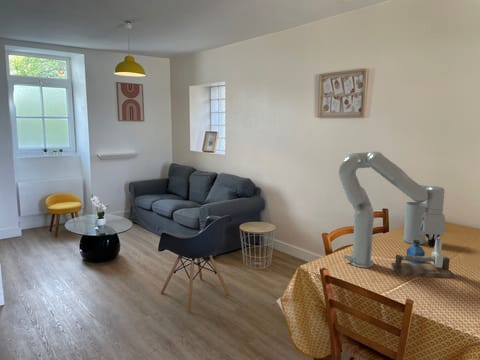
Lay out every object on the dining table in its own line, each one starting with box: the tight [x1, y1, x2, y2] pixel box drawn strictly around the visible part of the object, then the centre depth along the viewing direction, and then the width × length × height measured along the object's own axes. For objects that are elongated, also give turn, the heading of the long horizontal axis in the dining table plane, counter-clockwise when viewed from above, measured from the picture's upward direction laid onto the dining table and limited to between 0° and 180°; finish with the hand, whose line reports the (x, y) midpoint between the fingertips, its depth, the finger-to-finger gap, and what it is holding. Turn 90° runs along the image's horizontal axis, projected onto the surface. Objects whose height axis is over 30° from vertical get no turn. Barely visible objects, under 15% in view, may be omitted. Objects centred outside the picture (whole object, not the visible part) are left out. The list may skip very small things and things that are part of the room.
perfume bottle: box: [406, 240, 426, 264], centre depth 195 cm, size 6×6×12 cm
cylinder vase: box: [403, 201, 426, 246], centre depth 227 cm, size 12×12×25 cm
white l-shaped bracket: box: [430, 236, 444, 267], centre depth 180 cm, size 3×6×14 cm, turn 174°
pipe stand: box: [390, 254, 455, 279], centre depth 182 cm, size 26×12×8 cm, turn 84°
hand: (431, 246), depth 180 cm, fingers closed
